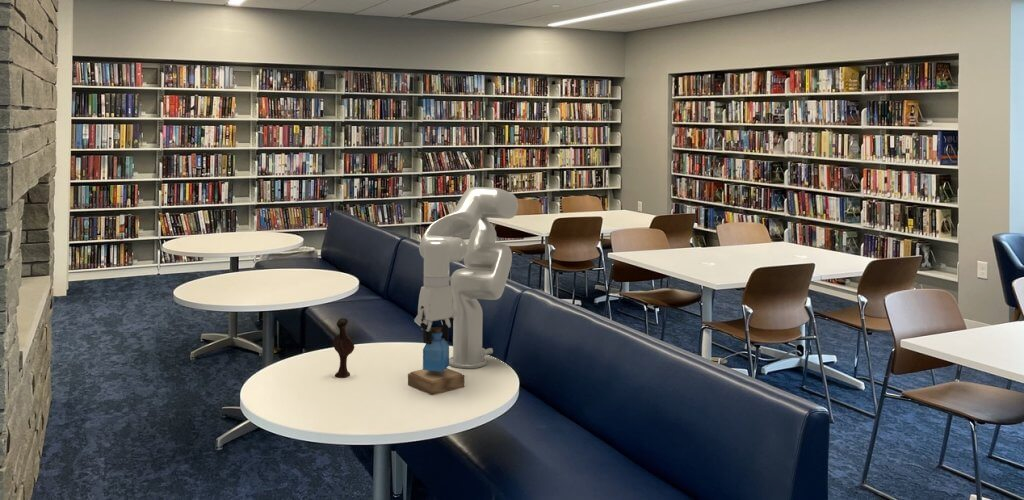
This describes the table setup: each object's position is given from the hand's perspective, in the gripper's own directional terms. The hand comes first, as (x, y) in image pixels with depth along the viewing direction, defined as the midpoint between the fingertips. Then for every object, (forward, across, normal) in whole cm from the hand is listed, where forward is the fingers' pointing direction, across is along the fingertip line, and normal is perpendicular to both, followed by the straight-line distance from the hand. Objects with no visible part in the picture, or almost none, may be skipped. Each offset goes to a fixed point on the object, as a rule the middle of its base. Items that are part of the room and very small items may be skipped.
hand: (436, 341), depth 234 cm
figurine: (+14, +16, -26) cm, 34 cm away
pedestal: (+14, 0, 0) cm, 14 cm away
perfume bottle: (+8, 0, 0) cm, 8 cm away
